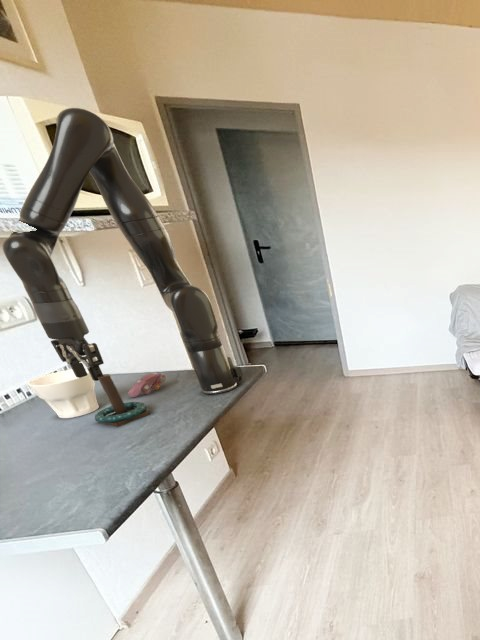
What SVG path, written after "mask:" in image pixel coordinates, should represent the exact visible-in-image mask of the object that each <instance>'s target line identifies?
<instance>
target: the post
mask: <svg viewBox="0 0 480 640" xmlns="http://www.w3.org/2000/svg"><path fill="white" fill-rule="evenodd" d="M98 379H99V380H98V381H99V383H100V386H101V387H102V389H103V391H104V393H105V395H106V397H107V399H108V401H109V403H110V405H111V406H112V407H113V409H114V411H115V412H113V413H111V414H108V415H107V416H113V415H118V414H122V413H126V412H129V411H131V410H134V409H135V408H129V409H126V407H125V405H124V403H125V402H124V401H123V398H122V397H121V395H120V393H119V391H118V389H117V387H116V385H115V382H114V381H113V379H112V377H111V375H110V374H109V373H105V374H103V375H100V376H98ZM150 414H151V412H150V410H147V409H146V410H145V411H143V412H142V413H141V414H139V415H137V416H134V417H132V418H129V419H126V420H122V421H118V422H110V423H102V422H97V423H98V424H102V425H107V426H112V427H117V428H119V427H121V426H124V425H126V424H129V423H131V422H135V421H136V420H139V419H140V418H144V417H146V416H148V415H150Z"/></svg>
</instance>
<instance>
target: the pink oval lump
mask: <svg viewBox="0 0 480 640" xmlns="http://www.w3.org/2000/svg"><path fill="white" fill-rule="evenodd" d="M166 376H167V375H165V374H162V373H159V372H158V373H157V372H153V373H148V374H146V375H143V376H142V377H141V378H140V379H137V381H136V382H135V383H133V386H132V387H131V388H130V389H129V391H128V396H129V397H130V398H136V397H139V396H140V395H141V394H144V395H149V394H151V392H152V391H153V390H154V391H158V390H159V389H160V388H161V386H162V384H163V383H164V382H165V381H166Z"/></svg>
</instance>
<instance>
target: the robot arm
mask: <svg viewBox="0 0 480 640" xmlns="http://www.w3.org/2000/svg"><path fill="white" fill-rule="evenodd" d="M55 120H56V121H55V123H56V129H55V136H54V140H53V145H52V148H51V151H50V153H49V156H48V158H47V160H46V163H45V165H44V166H43V168H42V170H41V171H40V173H39V175H38V177H37V178H36V180H35V181H34V183H33V185H32V187H31V188H30V190H29V192H28V194H27V196H26V198H25V200H24V202H23V204H22V206H21V209H20V212H19V219H18V221H21V222H23V223H26V224H28V225H29V226H32V227H34V228H36V229H37V230H36V231H30V232H13V231H12V232H13V233H12V232H11V233H10V235H9V236H8V237H7V238H5V239H4V241H3V242H2V247H1V248H2V251H3V254H4V255H5V258H6V261H8V264H10V266H11V268H12V270H13V271H14V272H15V274H16V275H17V277H18V278H19V279H20V281H21V283H22V285H23V288H24V290H25V292H26V294H27V296H28V298H29V300H30V301H31V304H32V306H33V310H34V312H35V314H36V317H37V319H38V321H39V322H40V324H41V326H42V328H43V330H44V332H45V334H46V336H47V338H48V339H50V344H51V345H52V347H53V349H54V350H55V352H56V354H57V355H58V357H59V358H60V360H61V362H63V363H66V364H67V365H68V366H69V367H70V368H71V370H73V372H74V374H75V376H76V377H78V378H81V377H84V376H87V372H86V370H85V369H88V371H89V373H90V375H91V377H92V379H93V380H94V382H95V381H96V382H97V381H99V379H98V376H100V375H104V374H103V372H102V369H101V367H100V366H101V365H104V359H103V356H102V355H101V352H100V350H99V346H98V344H97V343H95V342H93V343H89V342H88V341H87V339H86V338H85V335H88V334H89V333H90V330H89V328H88V326H87V322H85V319H84V317H83V315H82V312H81V310H80V309H79V306H78V305H77V303H76V302H75V301H74V299H73V297H72V294H71V293H70V291H69V287H68V286H67V284H66V283H65V281H64V279H63V278H62V277H60V275H59V272H58V271H57V268H56V266H55V263H54V261H53V259H52V254H53V252H54V249H55V247H56V245H57V242H58V239H59V236H60V234H61V233H62V231H63V230H64V229H65V227H66V225H67V223H68V222H69V219H70V218H71V215H72V213H73V211H74V209H75V207H76V204H77V201H78V199H79V196H80V194H81V190H82V188H83V185H84V183H85V181H86V179H87V176H88V174H90V176H91V177H92V179H93V180H94V182H95V184H96V186H97V188H98V190H99V193H100V195H101V198H102V199H103V201H104V203H105V205H106V208H107V210H108V212H109V213H110V215H111V217H112V219H113V220H114V222H115V224H116V226H117V227H118V229H119V231H120V232H121V234H122V235H123V237H124V239H126V241H127V242H128V244H129V245H130V247H131V248H132V250H133V251H134V253H135V254H136V255H137V257H138V258H139V260H140V261H141V263H143V265H144V266H145V268H146V269H147V271H148V272H149V274H150V276H151V278H152V279H153V281H154V283H155V286H156V287H157V290H158V291H159V294H160V296H161V298H162V300H163V303H164V304H165V306H166V307H167V308H168V309H169V310H170V311H171V312H173V313H174V315H175V317H176V320H177V322H178V325H179V328H180V331H179V335H180V338H181V341H182V343H183V346H184V348H185V350H186V353H187V356H188V358H189V361H190V363H191V367H192V368H193V370H194V373H195V376H196V378H197V381H198V382H199V385H200V388H201V391H202V394H204V395H219V394H223V393H227V392H230V391H232V390H234V389H237V387H238V386H240V385H241V382H242V381H243V376H244V373H243V370H242V368H241V366H237V365H234V363H233V360H232V358H231V357H229V356H228V355H227V352H226V350H225V347H224V344H223V341H222V338H221V336H220V333H219V332H220V331H219V324H218V320H217V317H216V314H215V311H214V307H213V304H212V301H211V300H210V297H209V295H208V294H207V293H206V292H205V291H204V290H203V289H201V288H200V287H197V286H194V285H193V284H192V283H191V282H190V280H189V278H188V277H187V275H186V274H185V273H184V271H183V269H182V268H181V266H180V264H179V262H178V259H177V256H176V253H175V249H174V246H173V243H172V239H171V236H170V234H169V232H168V230H167V228H166V227H165V225H164V223H163V222H162V220H161V218H160V216H159V214H158V212H157V211H156V209H155V208H154V206H153V205H152V203H151V202H150V200H149V199H148V198H147V196H146V194H144V193H143V190H141V188H140V187H139V186H138V185H137V183H136V182H135V180H134V179H133V178H132V176H131V175H130V173H129V172H128V169H127V168H126V166H125V164H124V162H123V160H122V158H121V156H120V154H119V151H118V149H117V147H116V144H115V141H114V134H113V132H112V130H111V128H110V127H109V124H107V123H106V121H104V120H103V119H102V118H101V117H100V116H99V115H97V114H96V113H94V112H92V111H91V110H87V109H85V108H81V107H80V108H79V107H69V108H65V109H62V110H61V111H60V112H59V113H58V115H57V116H56V119H55ZM85 367H86V368H85Z"/></svg>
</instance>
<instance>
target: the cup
mask: <svg viewBox="0 0 480 640" xmlns="http://www.w3.org/2000/svg"><path fill="white" fill-rule="evenodd" d="M85 370H86V372H87V376H84V377H81V378H78V377H76V376H75V374H74V372H73V370H72V369H66V370H61V371H56V372H52V373H47V374H44V375H40V376H38V377H36V378H33V379H31V380H29V381H28V382H27V385H28V386H29V388H30V389H31V390H32V391H33V392H34V393H35V395H36V396H37V397H38V398H39V399H40V400H43V401H44V402H45V403H46V404H47V405H48V406H49V407H50V408H51V409H52V410H53V411H54V412H55V414H56V415H57V416H58V418H60V419H72V418H79V417H82V416H85V415H88V414H90V413H93V412H95V411H97V410H98V409H99V408H100V405H99V404H98V400H97V395H96V391H95V386H96V384H95V381H94V380H93V379H92V377H91V375H90V373H89V371H88V369H87V368H85Z"/></svg>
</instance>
